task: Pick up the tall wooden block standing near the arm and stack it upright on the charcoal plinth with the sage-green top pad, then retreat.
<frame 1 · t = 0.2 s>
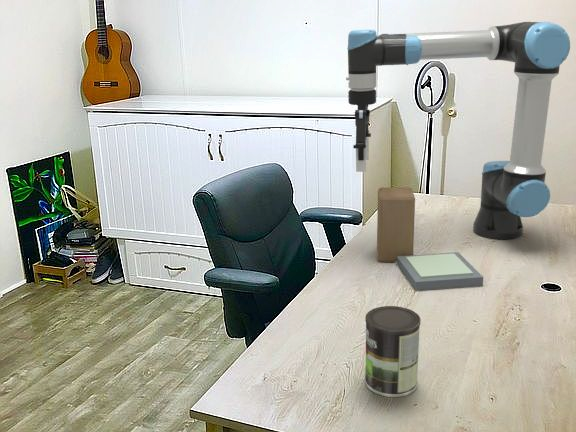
hand: (362, 165, 177), 28 cm above the table, fingers open, 13 cm apart
plinth: (437, 274, 172), on the table
coffee can: (391, 383, 123), on the table
wooden block: (394, 257, 185), on the table
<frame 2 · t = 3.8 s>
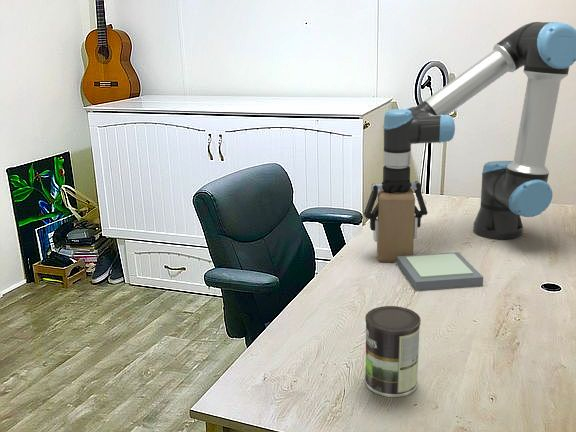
hand: (394, 239, 184), 5 cm above the table, fingers closed on wooden block, 11 cm apart
wooden block: (394, 257, 185), on the table, touching gripper
everything else where it was.
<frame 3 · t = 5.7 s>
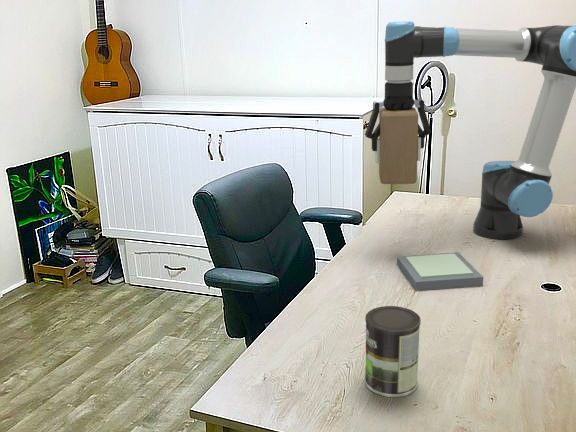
hand: (397, 161, 177), 29 cm above the table, fingers closed on wooden block, 11 cm apart
wooden block: (397, 180, 178), point 23 cm above the table, touching gripper
everything else where it was.
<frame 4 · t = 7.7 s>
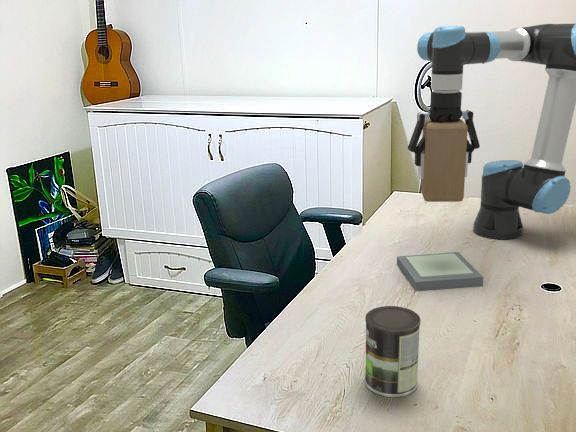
hand: (442, 176, 163), 28 cm above the table, fingers closed on wooden block, 11 cm apart
wooden block: (441, 198, 165), point 22 cm above the table, touching gripper
everything else where it was.
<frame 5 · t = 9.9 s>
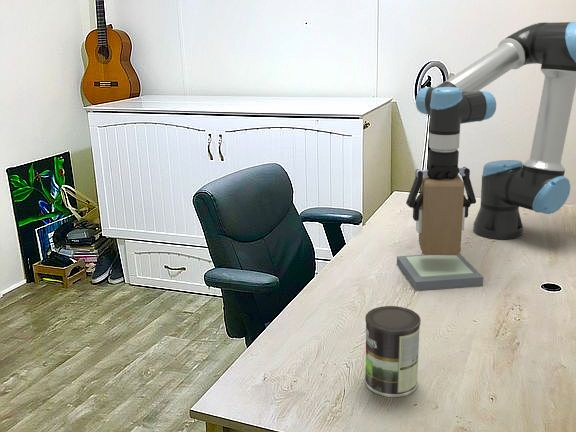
hand: (439, 230, 168), 13 cm above the table, fingers closed on wooden block, 11 cm apart
wooden block: (438, 250, 170), point 7 cm above the table, touching gripper
everything else where it was.
when the fingers open (10 cm above the table, at t = 11.7 s): wooden block drops 1 cm, resting on plinth.
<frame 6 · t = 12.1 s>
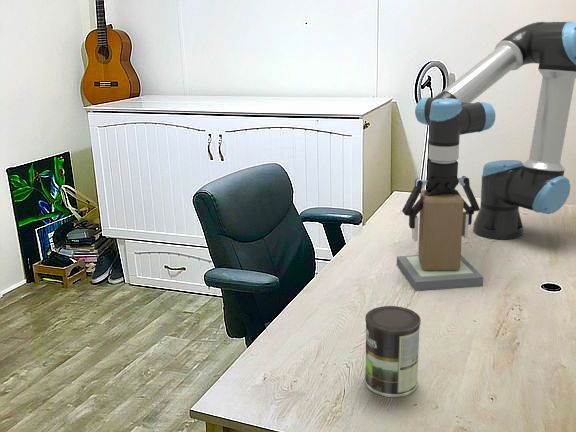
hand: (439, 237, 169), 11 cm above the table, fingers open, 13 cm apart
wooden block: (438, 265, 171), point 3 cm above the table, touching plinth
everything else where it was.
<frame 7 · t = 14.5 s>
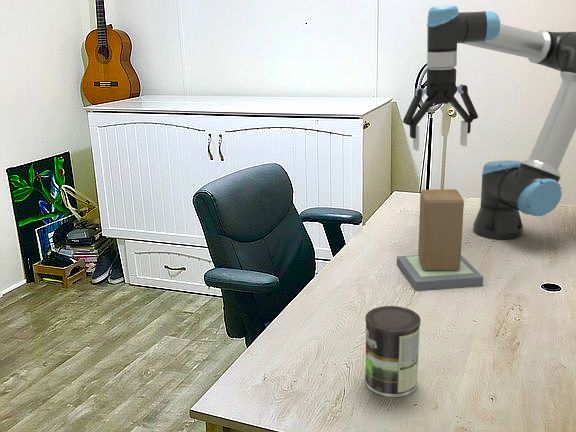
hand: (439, 147, 172), 33 cm above the table, fingers open, 13 cm apart
nothing on the table moved.
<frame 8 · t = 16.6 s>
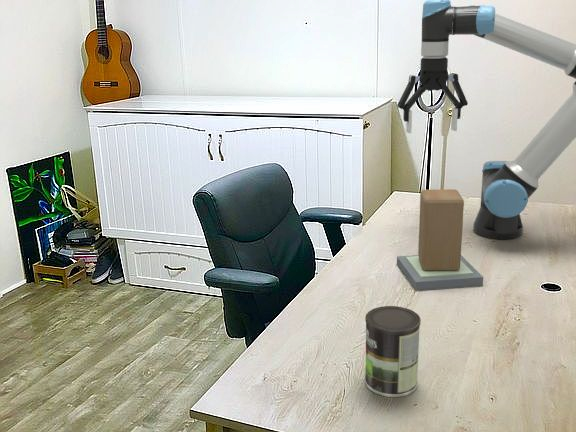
hand: (431, 131, 185), 35 cm above the table, fingers open, 13 cm apart
nothing on the table moved.
at the end: wooden block 0.1 cm from the plinth (horizontally); wooden block tilted 0°; wooden block touching plinth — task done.
